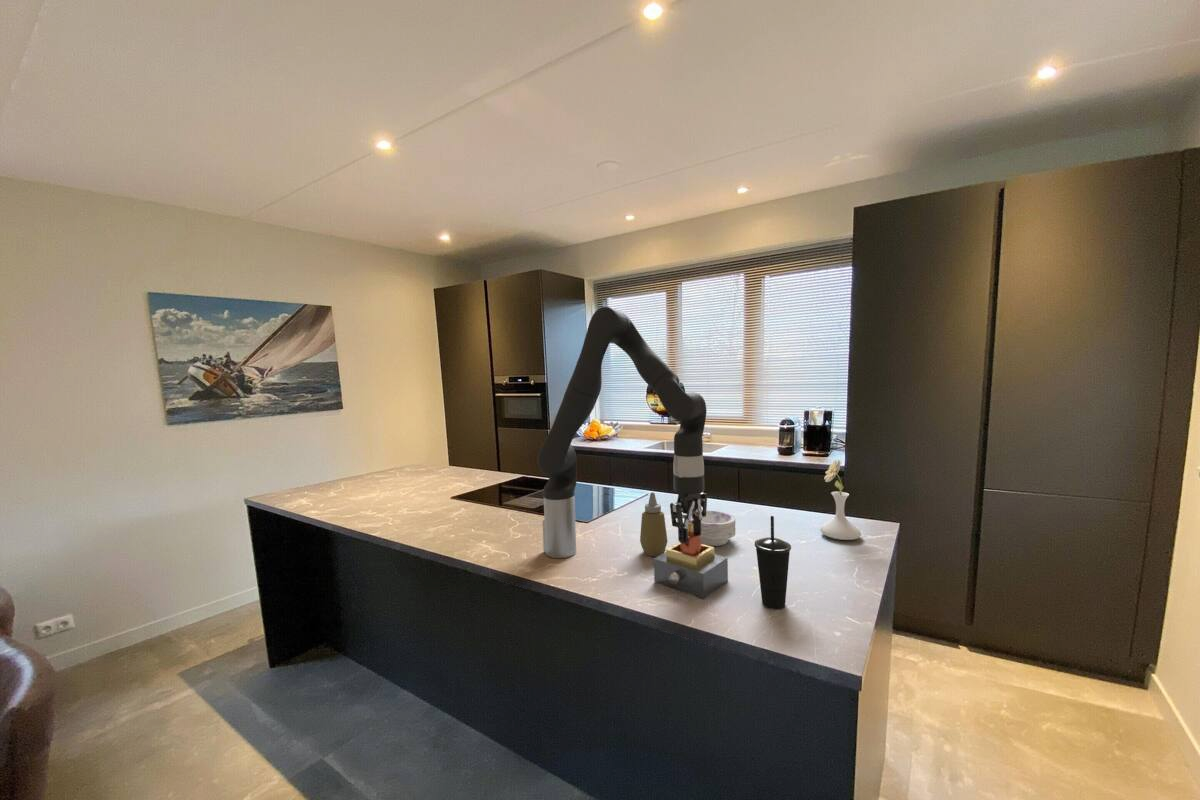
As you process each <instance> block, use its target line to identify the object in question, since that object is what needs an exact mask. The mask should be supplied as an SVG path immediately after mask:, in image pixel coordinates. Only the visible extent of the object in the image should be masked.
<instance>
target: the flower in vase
mask: <svg viewBox="0 0 1200 800" xmlns="http://www.w3.org/2000/svg"><path fill="white" fill-rule="evenodd" d="M841 467H842V463H841V460H840V459H835V460H834V461H833V462H831V463H830V464H829V467H828V470H826V471H825V476H824V478H823V479H824V480H825V481H824V482H826V483H830V482H831V481H832V480H834V478H836V476H837V478H838V479H837V480H836V481H835V483H834V486H835V488H837V489H838V490H839V491H832V492H830V494H831V495H832V497H833V499H834V502H835V515H834V517H833V518H831V519H829V520H827V521H826V522H825V523H823V524H822V525H821V526H820V529H819V530H820V532H821V534H822V535H824V536H826V537H828V538H831V539H833V540H834V539H835V540H840V541H851V540H852V541H854V540H857V539H860V538H861V536H862V533H861V530H860V529H859V528H858V527H857V526H856V525H855V524H853V523H852V522H850V520H849V519H847V517H846V515H845V506H846V505H845V504H846V500H847V498H849V496H850V494H849V493H848V492H844V491H843V489H844V485H843V483H842V480H841V477H840V475H839V474H838V473H839V472H840V468H841Z"/></svg>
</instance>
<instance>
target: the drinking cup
mask: <svg viewBox="0 0 1200 800" xmlns="http://www.w3.org/2000/svg"><path fill="white" fill-rule="evenodd" d="M754 547H755V550H756V559H757V567H758V577H759V586H760V597H761V603H762V605H763V606H764V607H765V608H768V609H772V610H783V609H784V608H785V606H786V598H787V589H788V588H787V587H788V577H789V576H788V575H789V574H788V573H789V563H790V554H791V553H790V552H791V550H792V545H791V544H790V543H789V542H787V541H785V540H783V539H780V538H777V537H775V516H774V515H770V537H769V536H768V537H764V538H759V539H757V540H755V541H754Z"/></svg>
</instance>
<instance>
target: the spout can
mask: <svg viewBox="0 0 1200 800" xmlns="http://www.w3.org/2000/svg"><path fill="white" fill-rule="evenodd" d="M681 552H682V553H686V554H689V555H693V556H697V555H698V554H700V553H701V536H700V535H699V534H697V533H693V523H688V542H687V543H681Z"/></svg>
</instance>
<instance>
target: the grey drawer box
mask: <svg viewBox="0 0 1200 800" xmlns="http://www.w3.org/2000/svg"><path fill="white" fill-rule="evenodd" d="M728 564H729V563H728V557H726V556H723V555H719V554H717V553H715V546H707V545H703V544H701V553H700V554H698V555H697V556H693V555H689V554H686V553H682V552H681V542H678V543H676V544H674V545H672V546H671V547H668V548H665V552H664V554H662V555H660V556H655V558H653V572H654V573H653V574H654V575H653V576H654V577H653V578H654V579H653V581H654V583H656V584H659V585H663V586H665V587H668V588H671V589H674V590H676V591H679V592H681V593H685V594H687V595H690V596H693V597H697V598H699V599H702V600H705V599H706V598H708V597H709V596H710V595H712V593H714V592H715V591H717V590H718V589H720V588H721V587H722V586H723V585H724V584H726V583H727V582H728V581H729V575H728V574H729V567H728V566H729V565H728Z"/></svg>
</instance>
